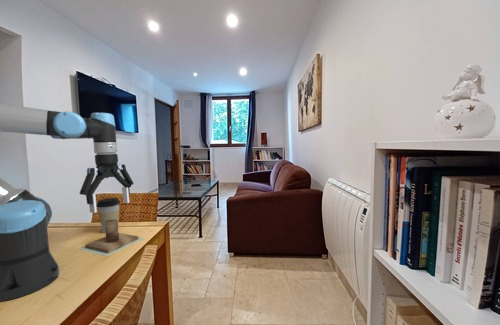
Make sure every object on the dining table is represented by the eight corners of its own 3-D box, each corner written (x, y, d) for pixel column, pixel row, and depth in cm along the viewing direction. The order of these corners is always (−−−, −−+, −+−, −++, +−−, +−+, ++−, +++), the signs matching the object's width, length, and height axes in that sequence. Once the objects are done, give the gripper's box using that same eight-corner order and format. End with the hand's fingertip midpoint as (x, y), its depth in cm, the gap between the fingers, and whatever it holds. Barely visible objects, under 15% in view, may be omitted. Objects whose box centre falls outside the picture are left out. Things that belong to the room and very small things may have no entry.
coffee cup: (114, 235, 99) (111, 202, 98) (93, 236, 99) (90, 202, 98) (126, 227, 108) (124, 197, 107) (107, 228, 108) (104, 197, 107)
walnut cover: (108, 253, 81) (106, 229, 81) (85, 247, 86) (83, 224, 86) (138, 239, 93) (136, 217, 93) (116, 235, 98) (115, 214, 98)
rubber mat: (107, 257, 80) (107, 256, 80) (78, 250, 86) (78, 249, 86) (144, 239, 94) (144, 238, 94) (117, 234, 100) (117, 233, 100)
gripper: (77, 155, 74) (83, 218, 76) (140, 151, 97) (143, 199, 99) (63, 155, 77) (69, 216, 79) (127, 152, 100) (131, 198, 102)
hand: (110, 207), depth 89 cm, fingers open, 13 cm apart
